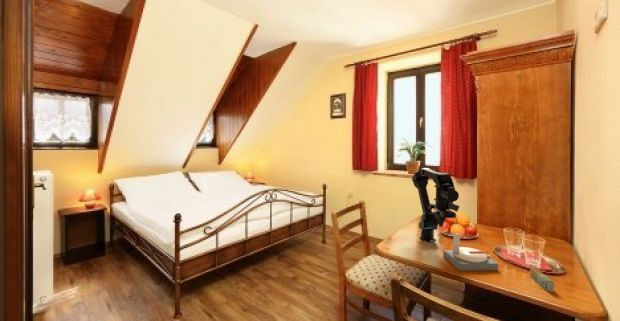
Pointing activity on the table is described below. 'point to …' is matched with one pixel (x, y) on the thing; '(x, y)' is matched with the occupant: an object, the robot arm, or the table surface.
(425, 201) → the robot arm
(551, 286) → the medication box
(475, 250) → the dial
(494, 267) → the level stand
